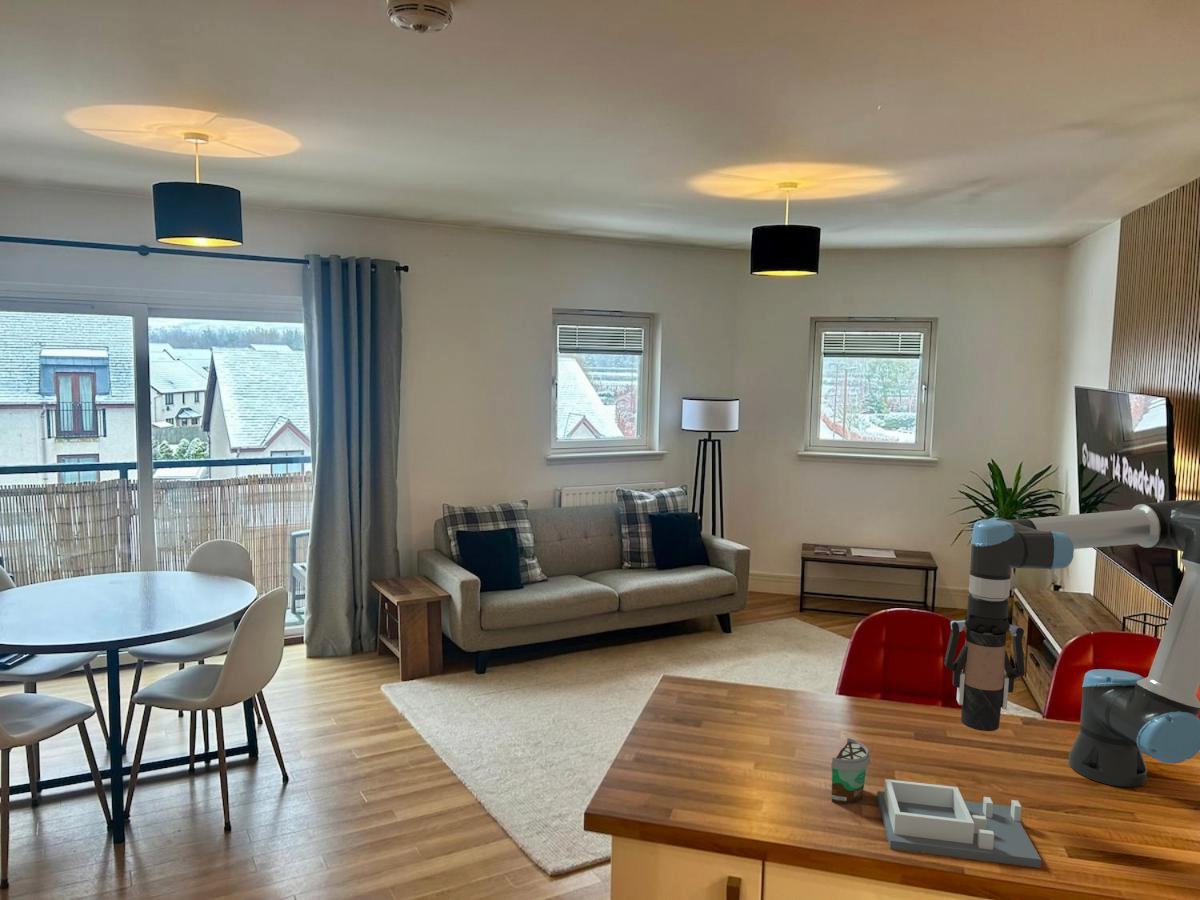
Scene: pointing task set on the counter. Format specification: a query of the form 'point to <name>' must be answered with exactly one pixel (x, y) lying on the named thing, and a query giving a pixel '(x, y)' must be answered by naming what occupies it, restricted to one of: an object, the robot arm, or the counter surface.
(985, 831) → the clips
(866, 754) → the food container
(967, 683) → the travel mug
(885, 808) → the grey fixture board
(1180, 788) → the counter surface
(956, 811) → the end holder
